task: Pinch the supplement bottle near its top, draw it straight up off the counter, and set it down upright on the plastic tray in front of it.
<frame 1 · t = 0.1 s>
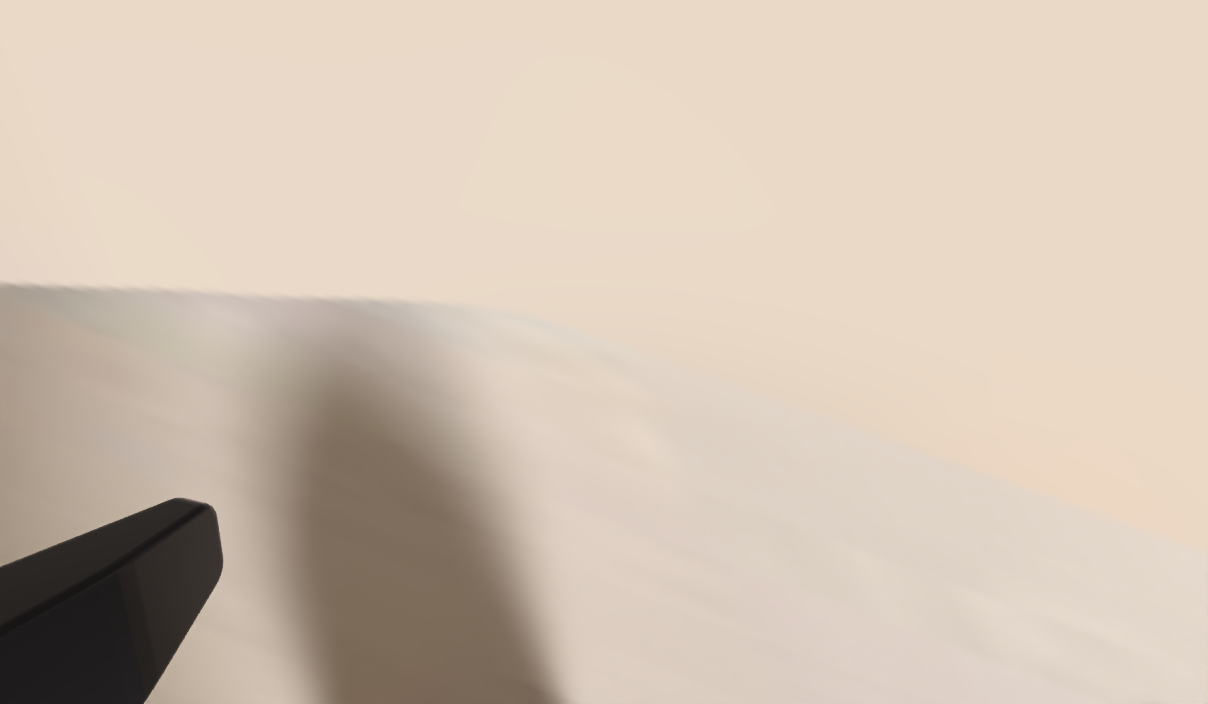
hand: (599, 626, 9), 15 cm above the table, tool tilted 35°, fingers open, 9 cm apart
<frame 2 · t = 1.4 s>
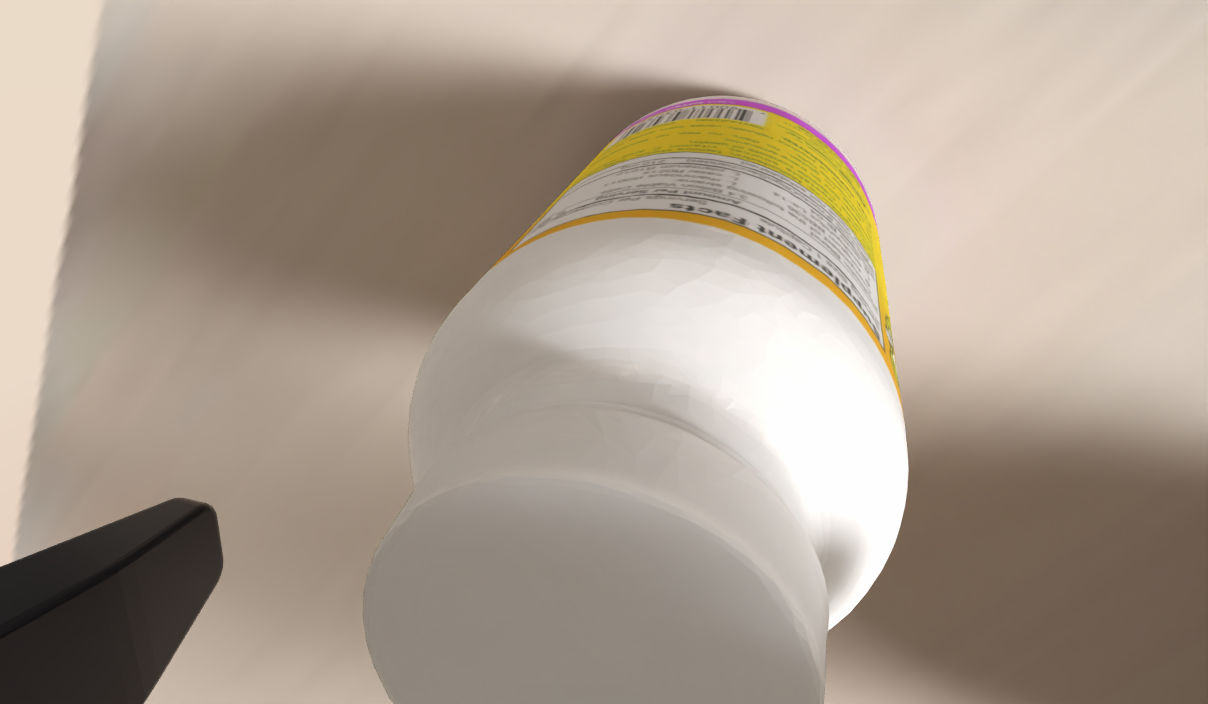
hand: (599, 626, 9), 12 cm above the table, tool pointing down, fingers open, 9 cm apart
supplement bottle: (725, 236, 20), on the table
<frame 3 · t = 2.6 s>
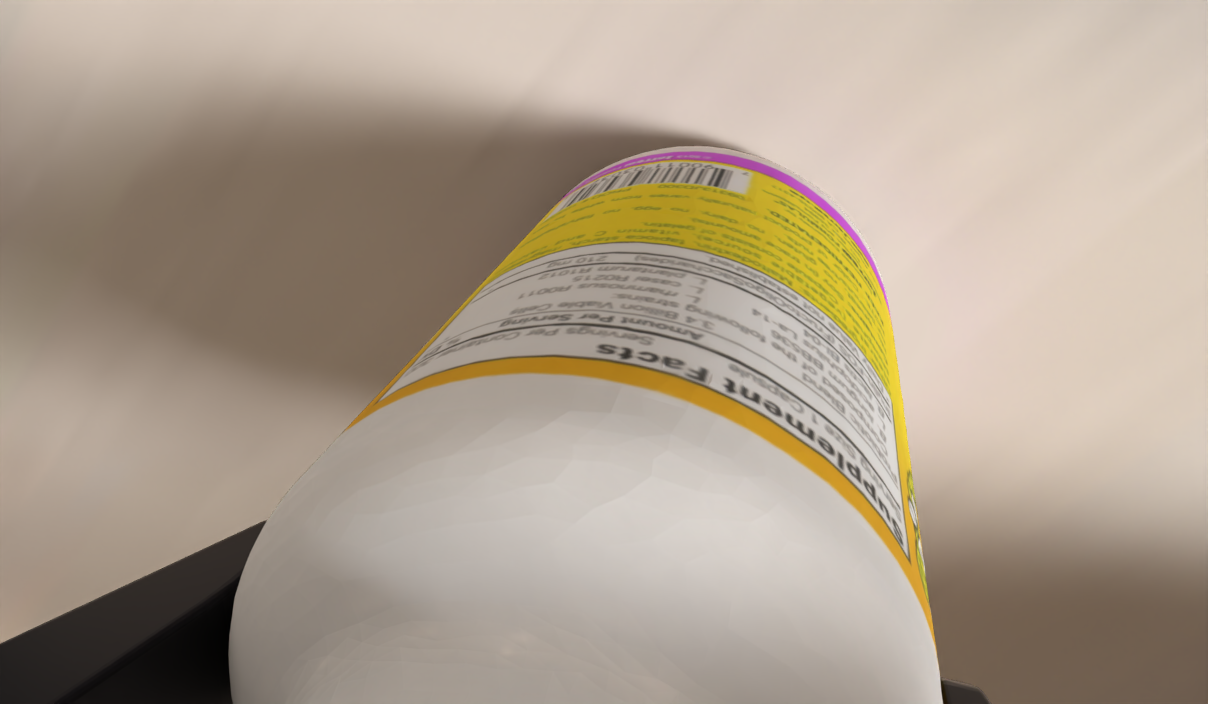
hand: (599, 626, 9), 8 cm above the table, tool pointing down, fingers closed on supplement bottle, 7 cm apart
supplement bottle: (703, 311, 17), on the table, touching gripper
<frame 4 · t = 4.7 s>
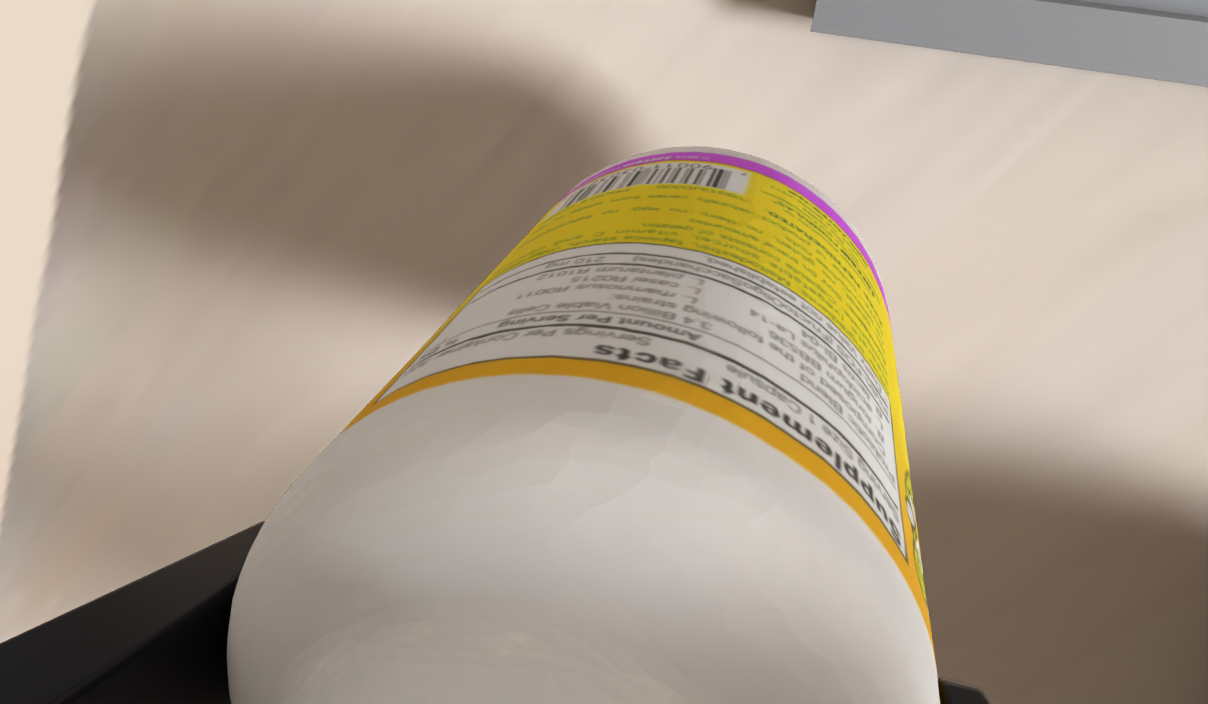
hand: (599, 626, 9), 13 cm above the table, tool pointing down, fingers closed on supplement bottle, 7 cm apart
supplement bottle: (702, 311, 17), point 5 cm above the table, touching gripper
when the fingers open (10 cm above the table, at t = 7.1 s): supplement bottle drops 2 cm, resting on tray.
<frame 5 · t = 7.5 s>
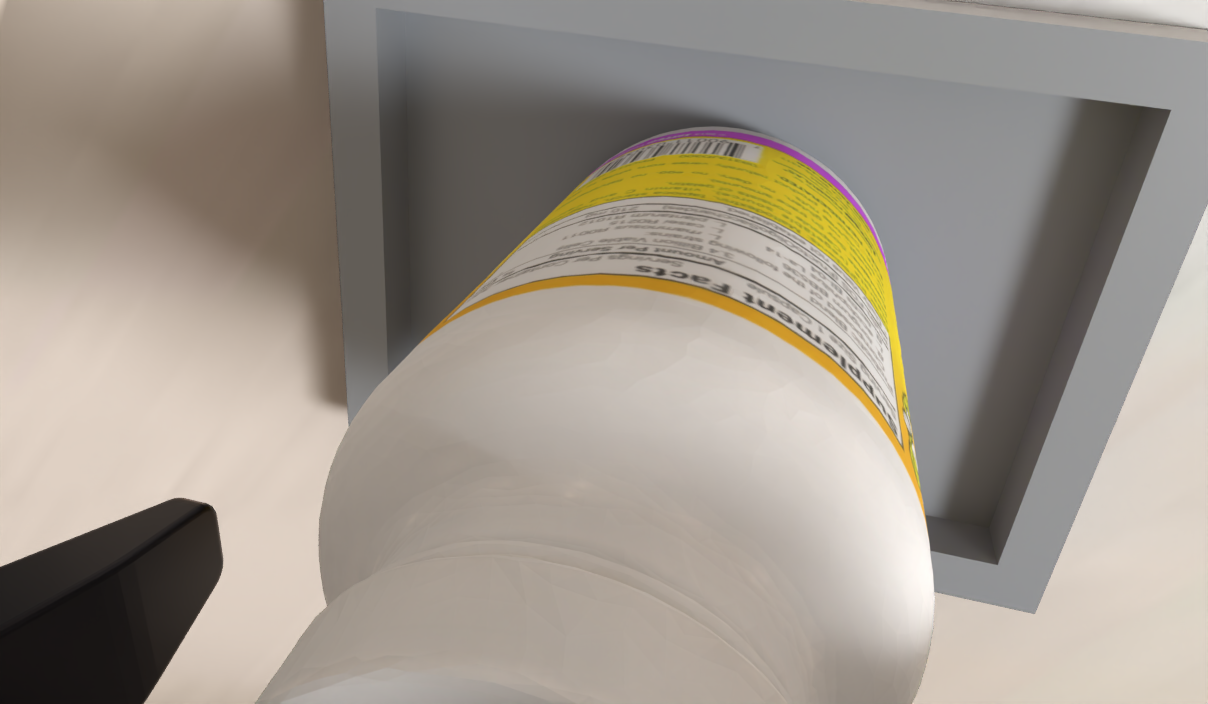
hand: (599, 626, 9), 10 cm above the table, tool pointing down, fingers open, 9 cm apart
supplement bottle: (717, 282, 18), point 1 cm above the table, touching tray
tray: (718, 265, 18), on the table
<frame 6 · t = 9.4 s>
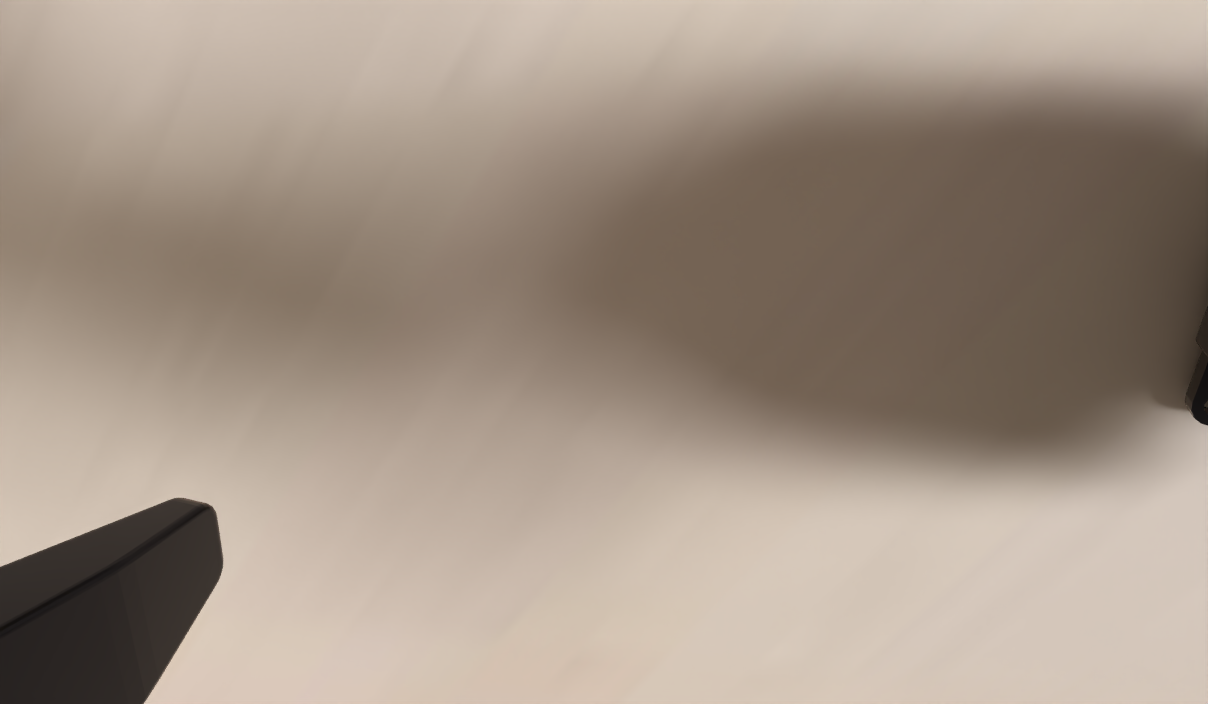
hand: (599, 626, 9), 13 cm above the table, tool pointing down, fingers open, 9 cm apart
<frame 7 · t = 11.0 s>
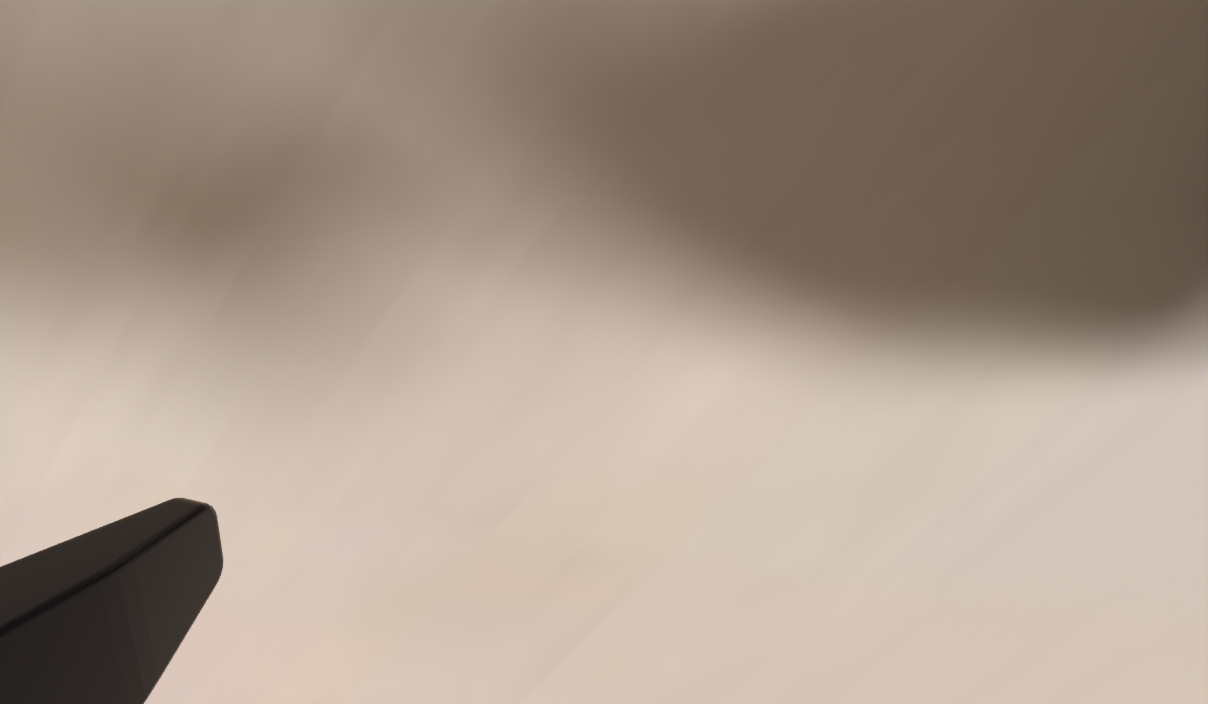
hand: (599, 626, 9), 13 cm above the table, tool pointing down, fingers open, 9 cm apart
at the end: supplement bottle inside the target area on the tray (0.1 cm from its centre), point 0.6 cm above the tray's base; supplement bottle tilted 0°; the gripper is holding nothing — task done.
